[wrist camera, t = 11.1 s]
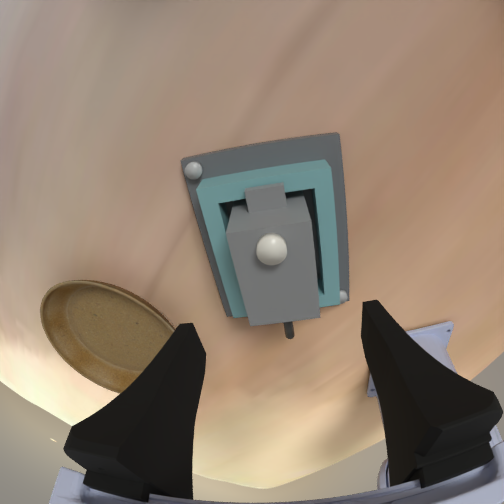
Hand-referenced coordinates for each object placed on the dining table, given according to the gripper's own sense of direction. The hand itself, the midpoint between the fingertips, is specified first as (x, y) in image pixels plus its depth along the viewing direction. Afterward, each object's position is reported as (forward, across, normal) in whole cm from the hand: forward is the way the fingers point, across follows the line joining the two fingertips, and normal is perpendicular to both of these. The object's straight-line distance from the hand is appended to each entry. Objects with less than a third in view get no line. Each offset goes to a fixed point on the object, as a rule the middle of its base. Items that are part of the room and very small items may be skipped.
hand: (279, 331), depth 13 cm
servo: (+8, 0, +1) cm, 8 cm away
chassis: (+9, 0, 0) cm, 9 cm away
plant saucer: (+9, +16, +7) cm, 19 cm away
